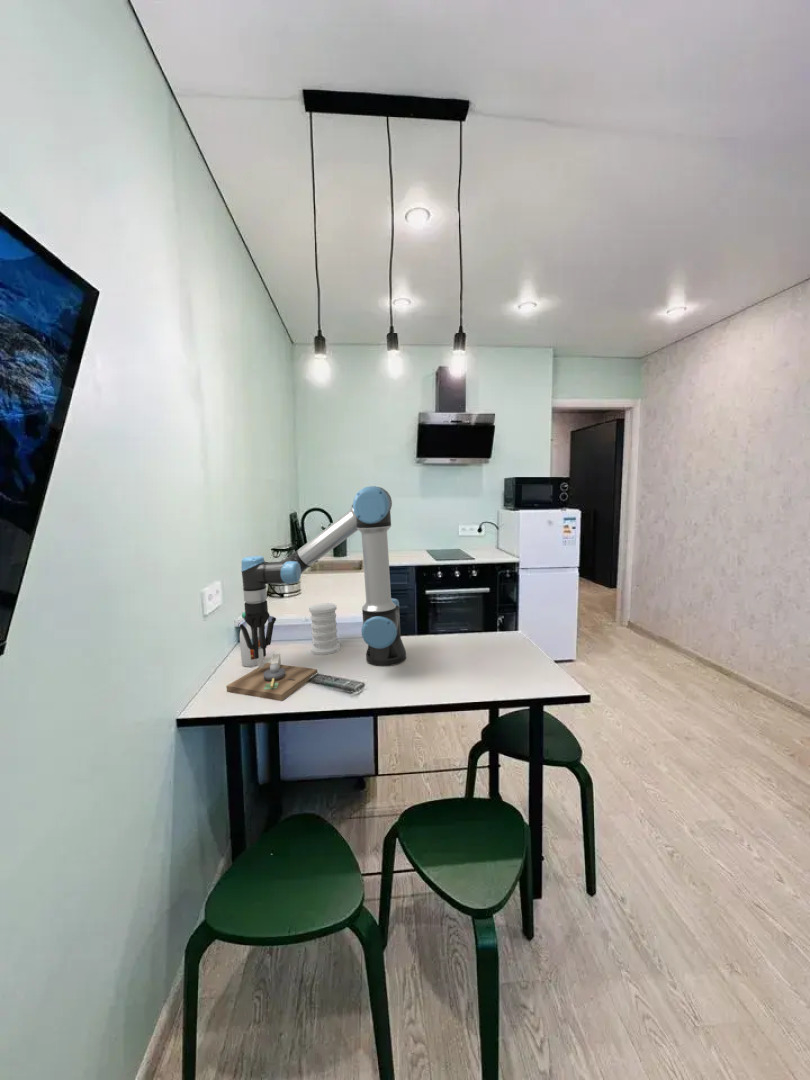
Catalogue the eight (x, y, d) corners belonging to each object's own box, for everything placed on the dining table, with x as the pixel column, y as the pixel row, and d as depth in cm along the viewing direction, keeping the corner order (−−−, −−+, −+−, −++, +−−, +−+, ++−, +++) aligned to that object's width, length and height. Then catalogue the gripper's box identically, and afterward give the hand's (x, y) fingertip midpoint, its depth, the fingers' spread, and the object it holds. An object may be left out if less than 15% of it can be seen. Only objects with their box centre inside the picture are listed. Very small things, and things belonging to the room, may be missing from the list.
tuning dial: (283, 686, 139) (282, 675, 139) (260, 689, 138) (259, 678, 137) (287, 662, 159) (286, 652, 159) (267, 664, 158) (266, 654, 157)
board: (317, 674, 153) (317, 668, 153) (281, 700, 135) (281, 694, 135) (267, 667, 162) (266, 662, 161) (226, 691, 143) (226, 685, 143)
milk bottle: (243, 669, 161) (238, 616, 159) (240, 662, 168) (236, 611, 166) (264, 664, 165) (260, 613, 163) (261, 658, 172) (257, 608, 169)
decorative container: (337, 654, 172) (334, 610, 170) (308, 655, 172) (305, 611, 170) (342, 644, 183) (339, 602, 181) (314, 645, 183) (311, 603, 181)
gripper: (270, 595, 158) (274, 658, 161) (233, 602, 150) (238, 668, 153) (278, 599, 152) (282, 664, 155) (239, 606, 144) (245, 674, 147)
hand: (260, 666), depth 154 cm, fingers closed
